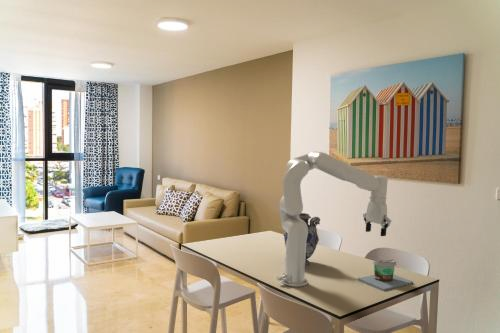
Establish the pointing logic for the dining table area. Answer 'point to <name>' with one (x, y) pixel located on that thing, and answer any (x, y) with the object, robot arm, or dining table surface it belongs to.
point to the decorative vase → (311, 237)
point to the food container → (384, 270)
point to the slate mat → (385, 286)
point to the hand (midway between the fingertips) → (375, 233)
